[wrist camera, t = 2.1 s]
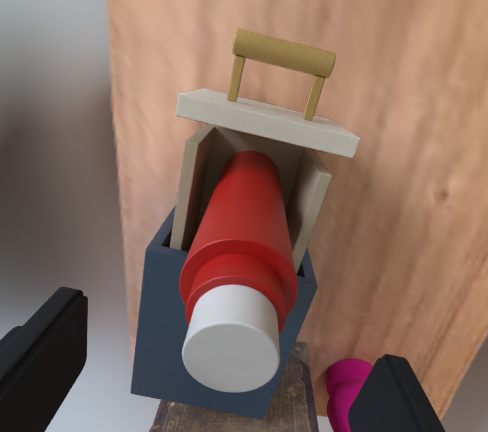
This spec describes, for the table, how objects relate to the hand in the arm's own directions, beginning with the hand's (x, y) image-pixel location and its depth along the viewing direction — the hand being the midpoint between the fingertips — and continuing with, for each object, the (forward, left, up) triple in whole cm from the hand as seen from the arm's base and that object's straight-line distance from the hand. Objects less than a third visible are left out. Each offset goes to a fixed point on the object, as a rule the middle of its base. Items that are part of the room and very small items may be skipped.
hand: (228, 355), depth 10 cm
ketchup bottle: (0, 0, -18) cm, 18 cm away
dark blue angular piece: (+11, 0, -20) cm, 23 cm away
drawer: (-2, 0, -19) cm, 19 cm away
